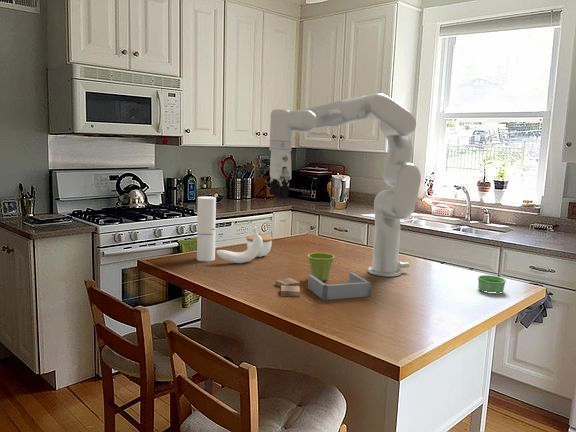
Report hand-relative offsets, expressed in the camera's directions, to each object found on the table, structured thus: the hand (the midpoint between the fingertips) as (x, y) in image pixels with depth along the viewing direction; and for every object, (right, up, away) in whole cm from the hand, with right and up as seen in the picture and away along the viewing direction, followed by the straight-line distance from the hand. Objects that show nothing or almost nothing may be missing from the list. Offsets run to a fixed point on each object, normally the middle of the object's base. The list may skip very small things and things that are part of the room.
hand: (278, 196), depth 179 cm
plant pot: (+15, -30, +6) cm, 34 cm away
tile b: (+4, -32, -11) cm, 34 cm away
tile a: (+3, -31, -3) cm, 31 cm away
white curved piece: (-16, -26, +26) cm, 40 cm away
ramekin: (+73, -33, 0) cm, 80 cm away
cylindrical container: (-30, -24, +29) cm, 48 cm away
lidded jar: (-9, -24, +40) cm, 47 cm away
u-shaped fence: (+20, -32, -8) cm, 38 cm away
